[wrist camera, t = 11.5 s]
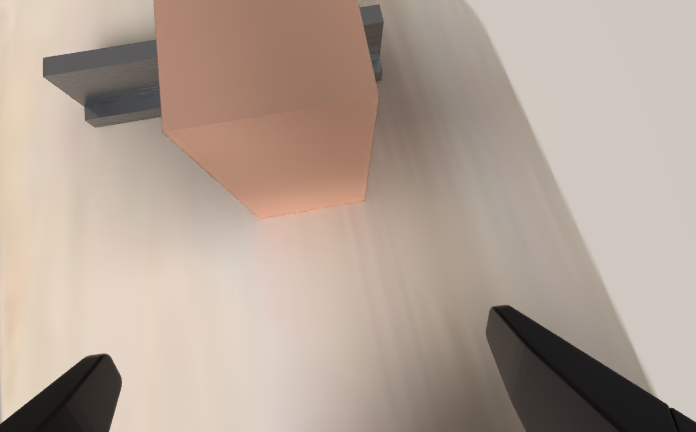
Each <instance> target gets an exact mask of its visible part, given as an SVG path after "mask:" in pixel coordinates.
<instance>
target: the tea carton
mask: <svg viewBox="0 0 696 432" xmlns="http://www.w3.org/2000/svg"><path fill="white" fill-rule="evenodd" d="M154 14H155V28H156V42H157V56H158V70H159V84H160V98H161V112H162V127H163V133H164V134H165V135H166V136H167V137H169V138H170V139H171V140H172V141H173V142H174V143H175V144H176V145H178V146H179V147H180V148H181V149H182V150H183V151H184V152H185V153H186V154H188V155H189V156H190V157H191V158H192V159H193V160H194V161H195V162H196V163H198V164H199V165H200V166H201V167H202V168H203V169H204V170H205V171H206V172H208V173H209V174H210V175H211V176H212V177H213V178H214V179H215V180H217V181H218V182H219V183H220V184H221V185H222V186H223V187H224V188H225V189H227V190H228V191H229V192H230V193H231V194H232V195H233V196H234V197H235V198H237V199H238V200H239V201H240V202H241V203H242V204H243V205H244V206H246V207H247V208H248V209H249V210H250V211H251V212H252V213H253V214H254V215H256V216H257V217H258V218H259V219H265V218H270V217H276V216H282V215H287V214H293V213H299V212H304V211H310V210H316V209H321V208H327V207H333V206H338V205H344V204H350V203H355V202H361V201H364V200H365V193H366V186H367V179H368V172H369V165H370V158H371V150H372V143H373V136H374V129H375V122H376V115H377V108H378V101H379V94H378V89H377V85H376V80H375V76H374V71H373V67H372V62H371V58H370V53H369V49H368V44H367V40H366V35H365V31H364V26H363V22H362V17H361V13H360V8H359V4H358V0H154Z"/></svg>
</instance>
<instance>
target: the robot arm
mask: <svg viewBox="0 0 696 432" xmlns="http://www.w3.org/2000/svg"><path fill="white" fill-rule="evenodd" d="M486 337H487V341H488V343H489V346H490V348H491V351H492V354H493V356H494V359H495V361H496V364H497V366H498V369H499V372H500V374H501V377H502V379H503V382H504V385H505V387H506V390H507V392H508V395H509V397H510V399H511V402H512V404H513V406H514V408H515V410H516V412H517V414H518V416H519V418H520V420H521V422H522V424H523V426H524V428H525V430H526V431H527V432H696V422H695V421H693V420H691V419H690V418H688V417H686V416H685V415H683V414H682V413H680V412H679V411H677V410H675V409H674V408H669V406H668V405H667V404H666V403H664V402H662V401H661V400H659V399H658V398H656V397H654V396H653V395H651V394H650V393H648V392H646V391H645V390H643V389H642V388H640V387H638V386H637V385H635V384H634V383H632V382H631V381H629V380H627V379H626V378H624V377H623V376H621V375H619V374H618V373H616V372H615V371H613V370H611V369H610V368H608V367H607V366H605V365H603V364H602V363H600V362H599V361H597V360H595V359H594V358H592V357H591V356H589V355H587V354H586V353H584V352H583V351H581V350H580V349H578V348H576V347H575V346H573V345H572V344H570V343H568V342H567V341H565V340H564V339H562V338H560V337H559V336H557V335H556V334H554V333H552V332H551V331H549V330H548V329H546V328H544V327H543V326H541V325H540V324H538V323H536V322H535V321H533V320H532V319H530V318H529V317H527V316H525V315H524V314H522V313H521V312H519V311H517V310H516V309H514V308H513V307H511V306H509V305H500V306H493V307H491V309H490V311H489V316H488V322H487V328H486ZM121 386H122V379H121V375H120V374H119V372H118V370H117V368H116V366H115V364H114V362H113V360H112V358H111V357H110V356H109V355H108V354H96V355H89V356H87V357H85V358H84V359H82V360H81V361H80V362H78V363H77V364H76V365H75V366H73V367H72V368H71V369H69V370H68V371H67V372H66V373H64V374H63V375H62V376H61V377H59V378H58V379H57V380H56V381H54V382H53V383H52V384H50V385H49V386H48V387H47V388H45V389H44V390H43V391H42V392H40V393H39V394H38V395H37V396H35V397H34V398H33V399H31V400H30V401H29V402H28V403H26V404H25V405H24V406H23V407H21V408H20V409H19V410H18V411H16V412H15V413H14V414H13V415H11V416H10V417H9V418H7V419H6V420H5V421H4V422H2V423H1V424H0V432H109V430H110V427H111V423H112V419H113V416H114V412H115V409H116V405H117V401H118V398H119V394H120V391H121Z"/></svg>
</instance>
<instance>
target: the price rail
mask: <svg viewBox="0 0 696 432" xmlns="http://www.w3.org/2000/svg"><path fill="white" fill-rule="evenodd" d="M360 13H361V17H362V22H363V26H364V31H365V35H366V40H367V44H368V49H369V53H370V58H371V62H372V67H373V71H374V76H375V80H376V81H378V80H381V75H382V69H381V65H380V60H379V55H380V47H381V38H382V30H383V18H382V14H381V10H380V6H379V5H374V6H367V7H361V8H360ZM43 77H44V78H46V79H47V80H48V81H50V82H51V83H52V84H54V85H55V86H57V87H58V88H59V89H61V90H62V91H63V92H65V93H66V94H68V95H69V96H70V97H72V98H73V99H74V100H76V101H77V102H79V103H80V104H81V105H83V106H84V107H85V121H87V122H88V123H90V124H91V125H92V126H94V127H101V126H107V125H113V124H119V123H125V122H131V121H137V120H143V119H149V118H155V117H161V116H162V112H161V98H160V84H159V70H158V56H157V42H156V40H153V41H147V42H140V43H134V44H128V45H121V46H115V47H109V48H102V49H96V50H90V51H83V52H77V53H71V54H65V55H58V56H52V57H46V58H43Z"/></svg>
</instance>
